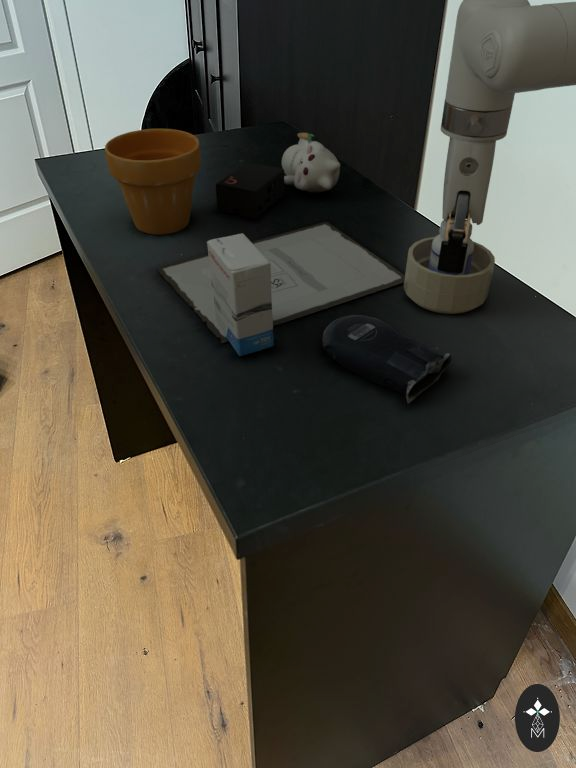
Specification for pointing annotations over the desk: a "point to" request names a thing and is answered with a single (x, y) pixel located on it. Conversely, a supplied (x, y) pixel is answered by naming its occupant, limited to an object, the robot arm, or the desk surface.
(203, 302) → the picture frame
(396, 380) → the black pouch
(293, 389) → the desk surface
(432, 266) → the pill bottle
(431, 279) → the basin
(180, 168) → the flower pot
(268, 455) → the desk surface
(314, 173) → the cat figurine
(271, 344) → the ink box
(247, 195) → the electronic device
